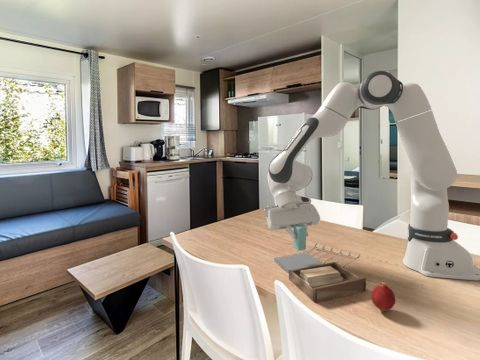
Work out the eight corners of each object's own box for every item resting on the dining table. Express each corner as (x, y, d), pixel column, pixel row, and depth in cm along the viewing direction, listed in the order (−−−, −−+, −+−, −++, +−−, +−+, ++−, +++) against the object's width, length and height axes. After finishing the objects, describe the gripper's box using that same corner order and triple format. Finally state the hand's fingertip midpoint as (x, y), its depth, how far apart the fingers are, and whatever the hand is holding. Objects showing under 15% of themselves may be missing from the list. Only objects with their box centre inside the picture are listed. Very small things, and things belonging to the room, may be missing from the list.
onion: (380, 302, 84) (381, 275, 83) (399, 312, 79) (401, 284, 78) (365, 308, 81) (366, 280, 80) (385, 319, 76) (386, 290, 75)
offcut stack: (296, 279, 99) (296, 270, 98) (330, 272, 103) (330, 263, 102) (307, 288, 93) (307, 278, 92) (342, 280, 97) (342, 271, 97)
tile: (274, 260, 114) (274, 257, 114) (306, 255, 118) (306, 252, 118) (292, 276, 101) (292, 273, 101) (328, 269, 105) (328, 266, 105)
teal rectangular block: (293, 247, 110) (293, 225, 109) (300, 246, 111) (301, 224, 110) (298, 250, 107) (298, 228, 105) (305, 249, 108) (306, 227, 106)
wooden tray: (288, 279, 99) (288, 267, 99) (334, 270, 105) (334, 259, 104) (314, 302, 85) (314, 289, 84) (365, 290, 90) (366, 278, 90)
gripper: (264, 202, 109) (276, 236, 102) (314, 197, 116) (328, 229, 108) (260, 211, 114) (271, 245, 107) (307, 206, 121) (321, 237, 113)
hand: (300, 237), depth 107 cm, fingers closed on teal rectangular block, 3 cm apart
